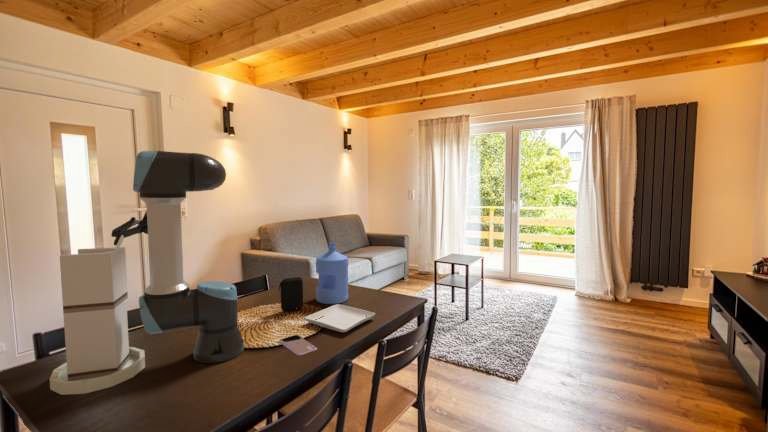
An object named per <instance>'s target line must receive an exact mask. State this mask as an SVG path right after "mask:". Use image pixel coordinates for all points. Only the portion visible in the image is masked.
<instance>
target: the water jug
mask: <svg viewBox="0 0 768 432" xmlns="http://www.w3.org/2000/svg"><path fill="white" fill-rule="evenodd" d="M315 268H316V269H315V272H316V274H317V275H318V283H317V285H316V286H315V287H316V289H315V291H316V295H315V299H316V301H317V302H318V303H320V304H324V305H336V304H342V303H344V302H346V301H348V300H349V257H348V256H347V255H344V254H343V253H340V252H338V251H336V243H335V242H328V251H326V252H325V253H323V254H320V255H319V256H317V257H316V258H315Z"/></svg>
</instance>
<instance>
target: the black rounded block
mask: <svg viewBox="0 0 768 432" xmlns="http://www.w3.org/2000/svg"><path fill="white" fill-rule="evenodd" d="M278 291H280V308H281V310H282V311H283V312H292V311H293V312H294V311H298V310H302V308H303V307H304V282H303V278H302V277H299V276H298V277H287V278H283V279H282V280H281V281H280V283H279V284H278ZM301 307H302V308H301ZM296 308H297V309H296Z"/></svg>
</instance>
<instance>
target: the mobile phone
mask: <svg viewBox="0 0 768 432" xmlns="http://www.w3.org/2000/svg"><path fill="white" fill-rule="evenodd" d="M278 343H280V344H281V345H282V346H283V347H286V349H287V350H289V351H290V352H292V353H293V354H295V355H296V356H299V357H300V356H303V355H306V354H308V353H312V352H315V351H317V350H318V348H317V346H315V345H313V343H310V342H309V341H307V340H306V339H305V338H303V337H302V336H300V335H298V334H295V335H291V336H288V337H284V338H281V339H279V340H278Z"/></svg>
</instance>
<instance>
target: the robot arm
mask: <svg viewBox="0 0 768 432" xmlns="http://www.w3.org/2000/svg"><path fill="white" fill-rule="evenodd" d="M134 163H135V165H134V171H133V172H134V173H133V181H132V184H133V186H132V191H133V192H136V193H139V199H140V200H141V201H143V202H144V203H145V204H146V210H145V213H144V215H143V217H142V218H141V220H138V219H136V217H134V216H131V217H130V219H129V220H128V221H126V222H125V223H122V224H121V225H119V226H117V227H115V228H114V229H112V231H111V236H110V237H112V238H115V239H114V241H113V246H115V247H114V248H117V247H122V246H121V245H122V244H123V242H124V239H126V238H128V237H132V236H134V235H137V234H141V233H142V234H143V233H144V234H146V235H147V243H148V263H149V264H148V265H149V267H148V268H149V285H148V286H147V287H145V289H144V291H143V292H144V294H143V295H141V296H139V297H138V306H139V312H140V318H141V321H142V325H143V326H142V327H143V329H144V331H145V333H146V334H150V335H155V334H156V335H157V334H165V333H168V332H174V331H179V330H185V329H188V328H194V327H198V334H197V338H196V341H195V345H194V347H193V353H192V354H193V355H192V356H193V359H194V360H195V361H196V362H198V363H201V364H214V363H215V364H217V363H221V362H225V361H228V360H232V359H234V358H237V357H238V356H239V355H241V354H242V353H243V352H244V350H245V341H244V339H243V336H242V334H241V331H240V329H239V323H238V321H239V320H238V299H239V297H238V293H237V287H236V285H235V284H233V283H231V282H228V281H217V280H215V281H213V280H211V281H204V282H200V283H198V284H197V285H196V288H193V289H190V284H189V283H188V282H187V281H185V280H184V263H183V262H184V258H183V257H184V256H183V237H182V236H183V235H182V231H183V230H182V208H181V207H182V202H184V200H185V199H186V198H187V192H189V193H190V192H205V191H214V190H215V189H217V188H220V187H221V186H222V185H223V184H224V182H225V180H226V177H227V173H226V169H225V167H224V165H223V164H222V163H221V162H220V161H218V160H217V159H215V158H214V157H211V156H208V155H205V154H203V153H196V152H178V151H176V152H175V151H165V150H164V151H163V150H142V151H140V152H138V153H137V155H136V159H135V162H134ZM136 225H137V226H136ZM133 226H134V227H133Z"/></svg>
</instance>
